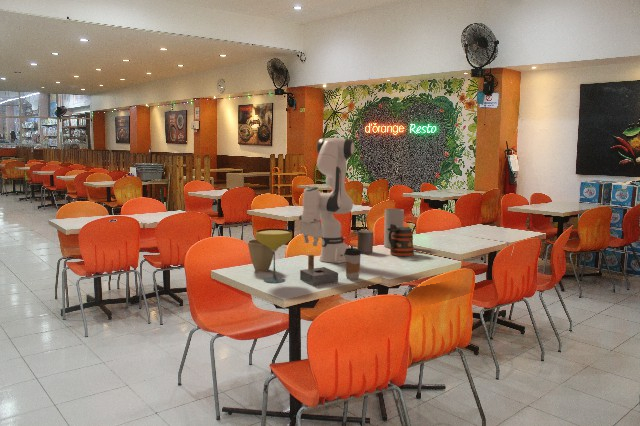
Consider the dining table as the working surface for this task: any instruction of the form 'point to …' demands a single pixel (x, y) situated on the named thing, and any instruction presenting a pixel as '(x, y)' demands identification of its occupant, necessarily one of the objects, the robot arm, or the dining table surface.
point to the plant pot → (260, 255)
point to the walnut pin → (310, 261)
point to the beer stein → (401, 241)
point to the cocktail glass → (274, 245)
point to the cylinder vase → (392, 222)
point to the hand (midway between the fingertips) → (310, 244)
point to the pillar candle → (365, 241)
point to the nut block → (318, 276)
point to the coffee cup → (352, 263)
